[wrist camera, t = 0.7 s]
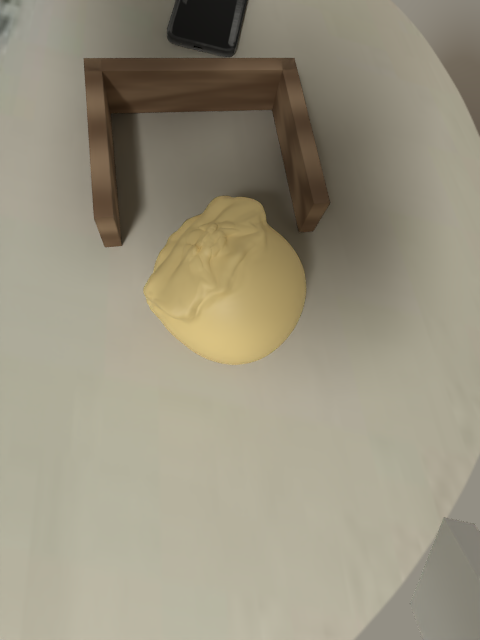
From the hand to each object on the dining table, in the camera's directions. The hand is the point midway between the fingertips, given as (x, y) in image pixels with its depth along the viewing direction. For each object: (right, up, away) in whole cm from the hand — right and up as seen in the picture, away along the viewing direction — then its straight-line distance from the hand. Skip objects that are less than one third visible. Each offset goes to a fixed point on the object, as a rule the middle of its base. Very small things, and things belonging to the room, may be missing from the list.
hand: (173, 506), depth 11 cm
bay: (-2, +19, +32) cm, 37 cm away
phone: (-2, +42, +39) cm, 57 cm away
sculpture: (0, +6, +28) cm, 28 cm away
